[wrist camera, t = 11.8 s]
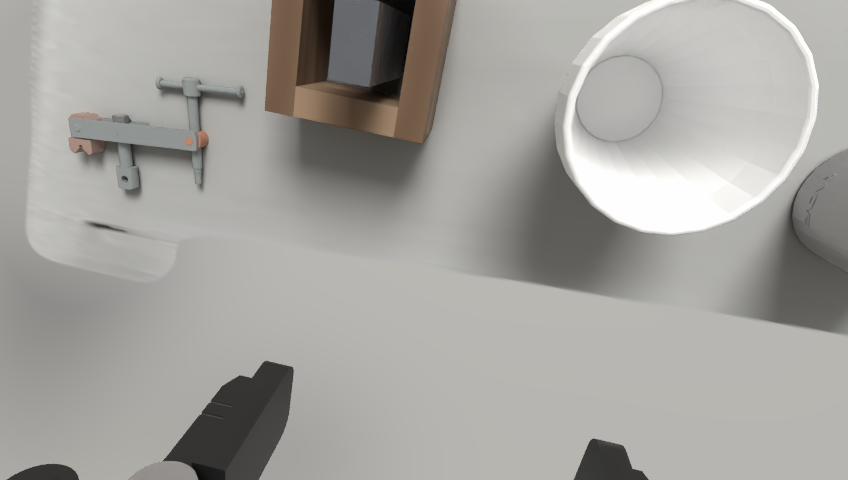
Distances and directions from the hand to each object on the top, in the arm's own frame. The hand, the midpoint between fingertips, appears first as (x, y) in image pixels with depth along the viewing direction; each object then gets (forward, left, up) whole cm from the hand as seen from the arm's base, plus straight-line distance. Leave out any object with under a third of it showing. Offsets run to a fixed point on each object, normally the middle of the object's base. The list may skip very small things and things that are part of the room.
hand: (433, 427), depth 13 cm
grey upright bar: (+9, -9, -30) cm, 32 cm away
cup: (-10, -8, -30) cm, 33 cm away
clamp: (+26, +2, -31) cm, 40 cm away
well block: (+9, -8, -30) cm, 32 cm away
